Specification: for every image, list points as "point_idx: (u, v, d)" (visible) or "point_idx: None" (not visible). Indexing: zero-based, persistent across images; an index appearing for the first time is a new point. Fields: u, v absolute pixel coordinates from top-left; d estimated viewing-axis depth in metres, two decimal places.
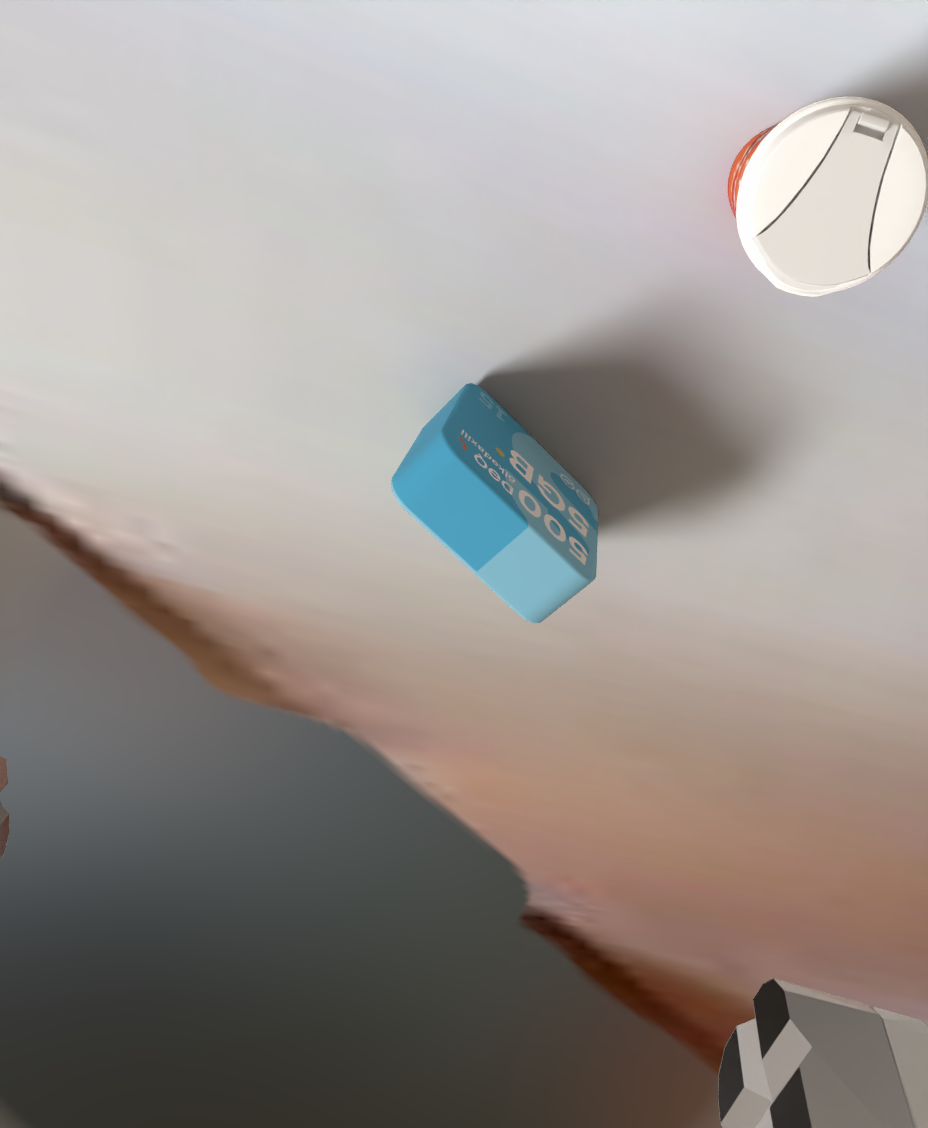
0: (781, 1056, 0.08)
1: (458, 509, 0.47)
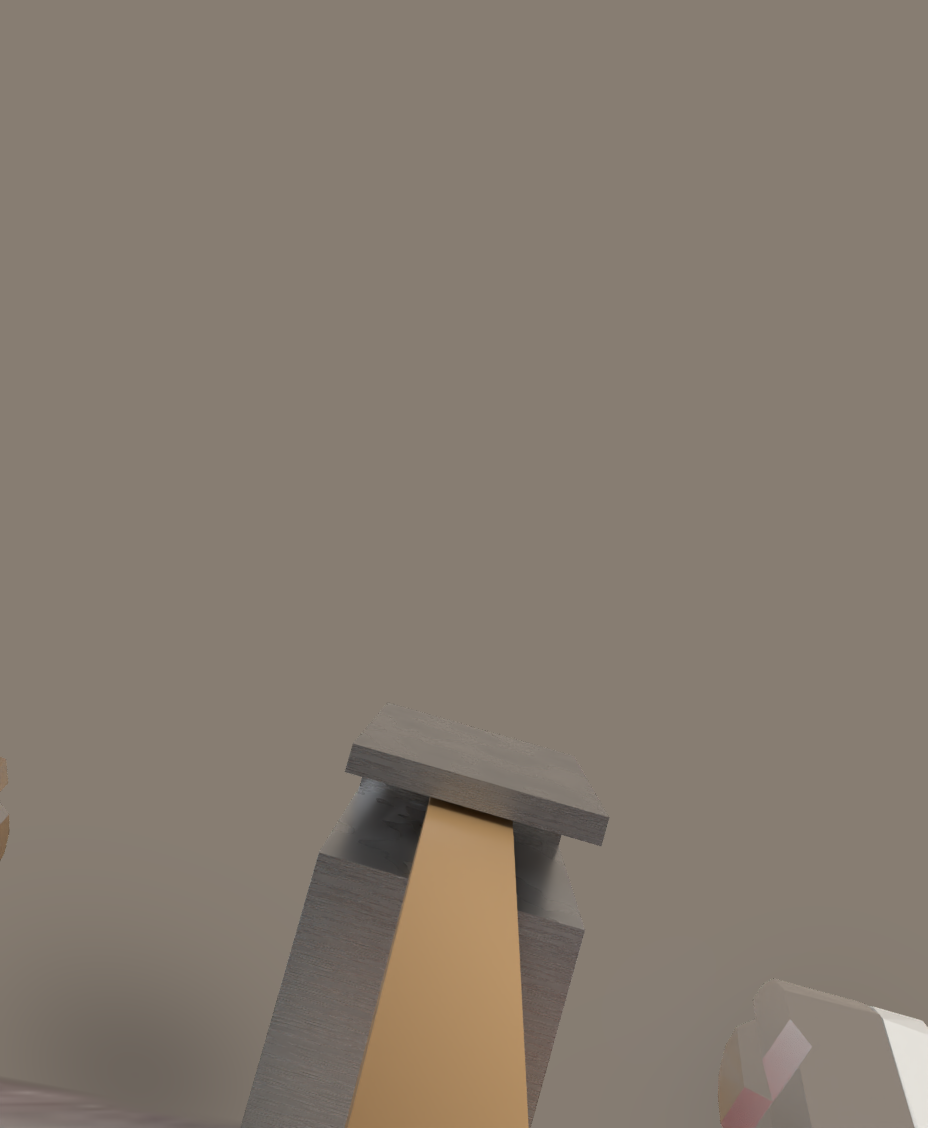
0: (781, 1056, 0.08)
1: None
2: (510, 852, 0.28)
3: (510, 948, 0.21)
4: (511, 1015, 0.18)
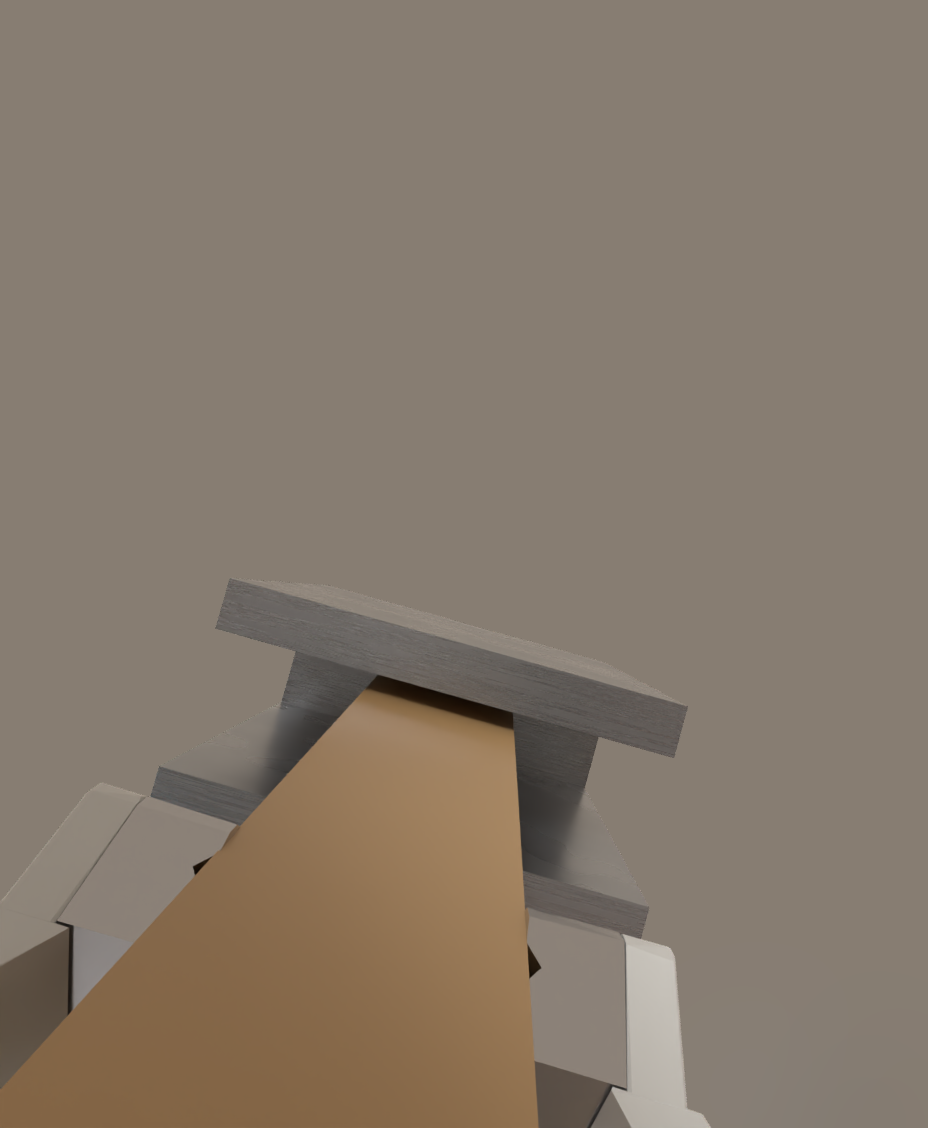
0: None
1: None
2: (508, 758, 0.15)
3: (503, 928, 0.08)
4: None
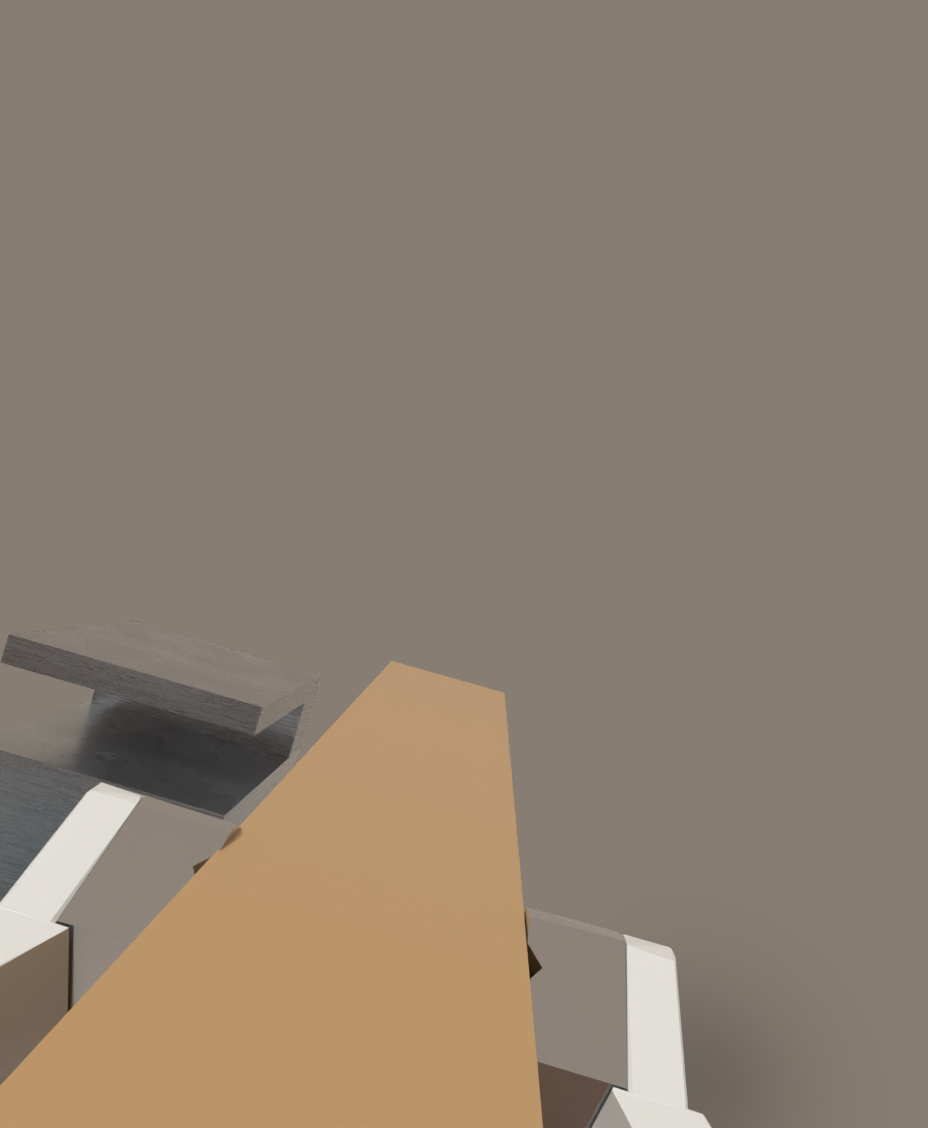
0: None
1: None
2: (503, 764, 0.15)
3: (502, 926, 0.08)
4: None
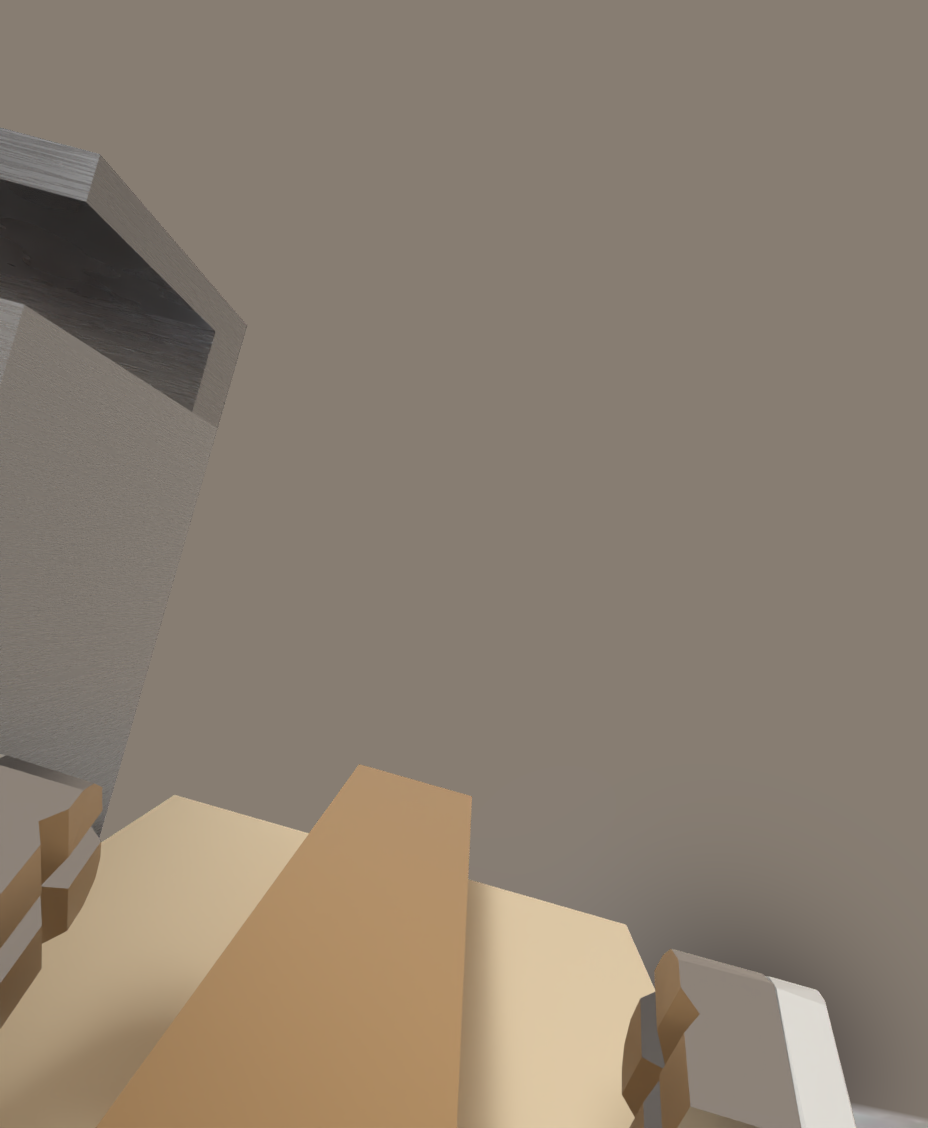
0: (674, 1025, 0.08)
1: None
2: (459, 898, 0.15)
3: None
4: None
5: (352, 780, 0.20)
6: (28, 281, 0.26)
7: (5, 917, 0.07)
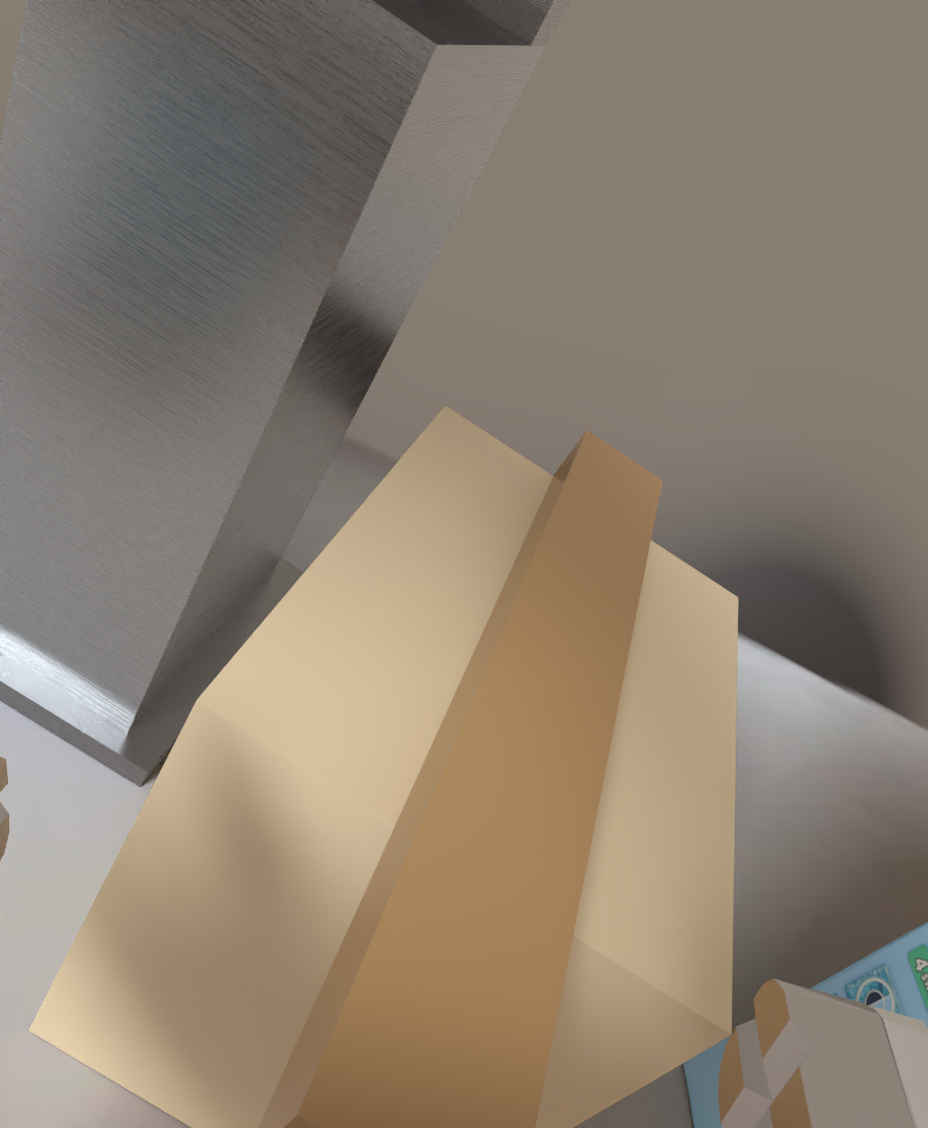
0: (781, 1056, 0.08)
1: None
2: (634, 600, 0.22)
3: (594, 771, 0.17)
4: (567, 892, 0.14)
5: (580, 453, 0.27)
6: None
7: None
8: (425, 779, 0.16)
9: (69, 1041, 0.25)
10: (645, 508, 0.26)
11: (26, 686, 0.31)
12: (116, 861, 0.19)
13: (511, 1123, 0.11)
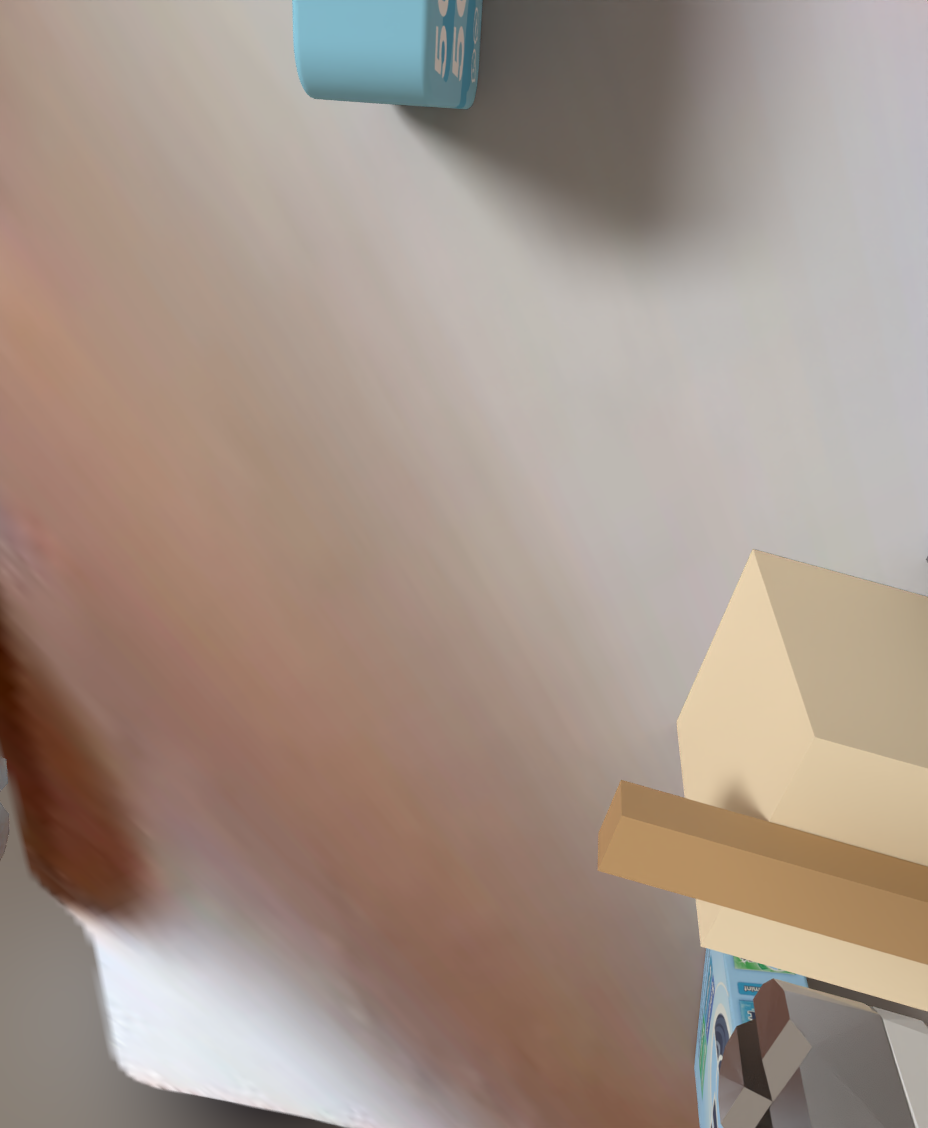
0: (781, 1056, 0.08)
1: None
2: None
3: (798, 923, 0.34)
4: (725, 902, 0.34)
5: None
6: None
7: None
8: (784, 842, 0.33)
9: (746, 574, 0.46)
10: None
11: None
12: (785, 650, 0.37)
13: (631, 873, 0.34)
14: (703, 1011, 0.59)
